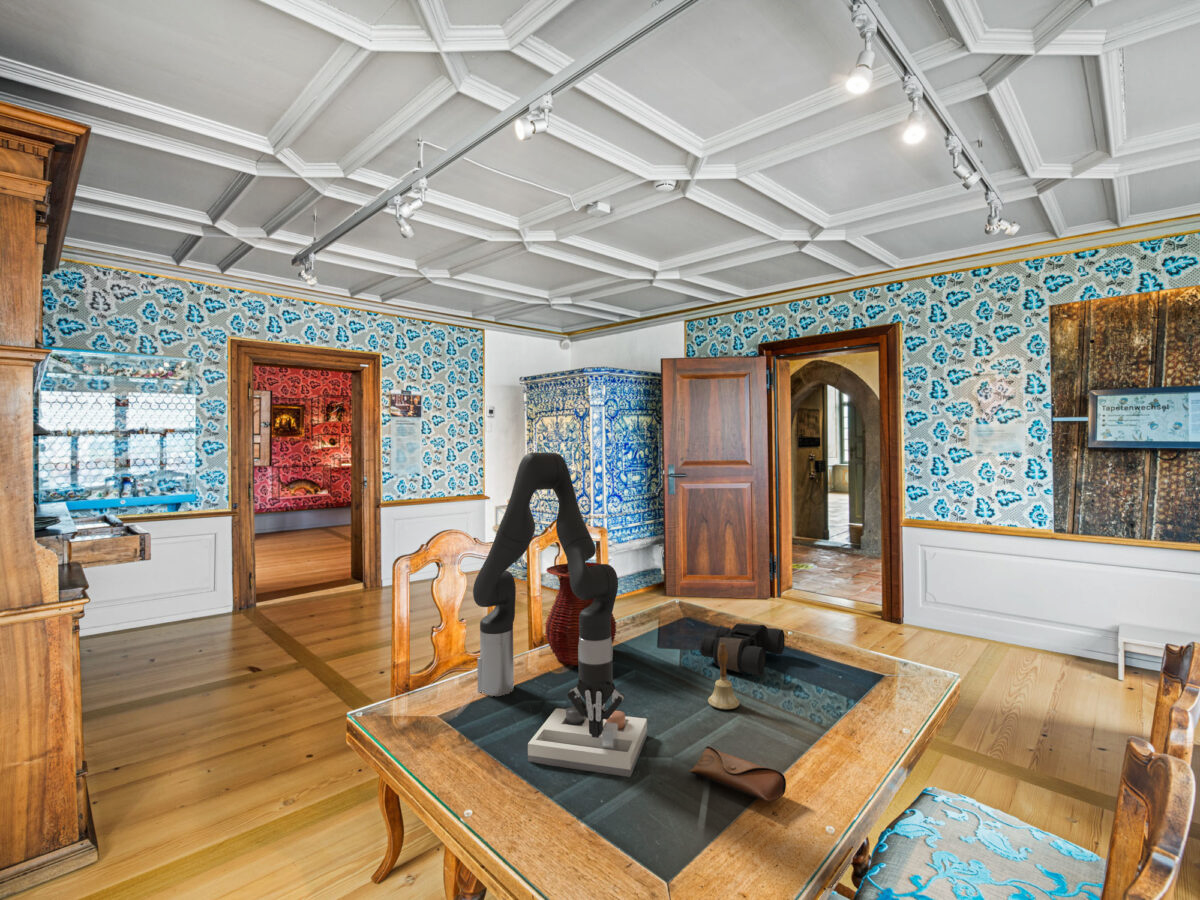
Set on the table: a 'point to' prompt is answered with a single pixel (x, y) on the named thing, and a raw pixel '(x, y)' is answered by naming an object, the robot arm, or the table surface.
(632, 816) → the table surface
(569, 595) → the vase
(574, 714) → the black button
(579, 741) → the console
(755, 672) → the binoculars
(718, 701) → the hand bell
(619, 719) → the terracotta button
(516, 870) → the table surface
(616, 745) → the steel slider
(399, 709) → the table surface
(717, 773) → the sunglasses case
